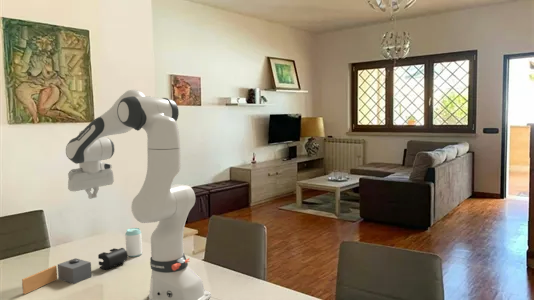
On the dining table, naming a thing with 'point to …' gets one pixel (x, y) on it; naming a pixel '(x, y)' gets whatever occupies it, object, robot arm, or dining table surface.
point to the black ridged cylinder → (112, 258)
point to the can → (133, 242)
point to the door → (39, 279)
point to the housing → (74, 270)
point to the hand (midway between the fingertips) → (92, 198)
